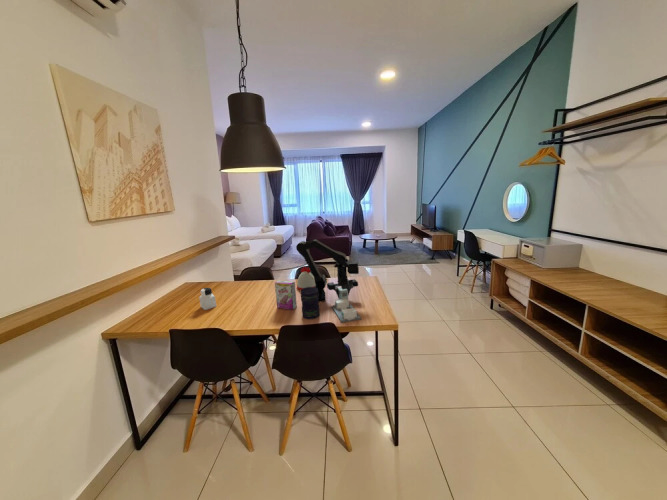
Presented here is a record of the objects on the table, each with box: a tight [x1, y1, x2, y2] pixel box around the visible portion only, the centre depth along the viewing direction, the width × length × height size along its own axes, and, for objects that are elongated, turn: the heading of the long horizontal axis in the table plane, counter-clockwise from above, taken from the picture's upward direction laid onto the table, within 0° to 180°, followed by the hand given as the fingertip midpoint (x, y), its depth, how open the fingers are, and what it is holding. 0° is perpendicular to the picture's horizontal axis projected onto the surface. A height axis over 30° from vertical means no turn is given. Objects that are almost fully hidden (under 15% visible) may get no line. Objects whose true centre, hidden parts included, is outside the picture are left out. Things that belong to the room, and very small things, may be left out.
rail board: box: [331, 299, 362, 324], centre depth 150 cm, size 11×20×4 cm, turn 15°
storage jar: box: [300, 287, 321, 320], centre depth 149 cm, size 10×10×15 cm
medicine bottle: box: [198, 287, 217, 311], centre depth 167 cm, size 7×7×12 cm
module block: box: [338, 286, 349, 301], centre depth 168 cm, size 4×7×7 cm, turn 15°
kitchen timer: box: [296, 266, 316, 291], centre depth 193 cm, size 14×14×15 cm
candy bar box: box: [274, 279, 298, 311], centre depth 160 cm, size 11×5×16 cm, turn 71°
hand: (343, 297), depth 169 cm, fingers open, 5 cm apart
